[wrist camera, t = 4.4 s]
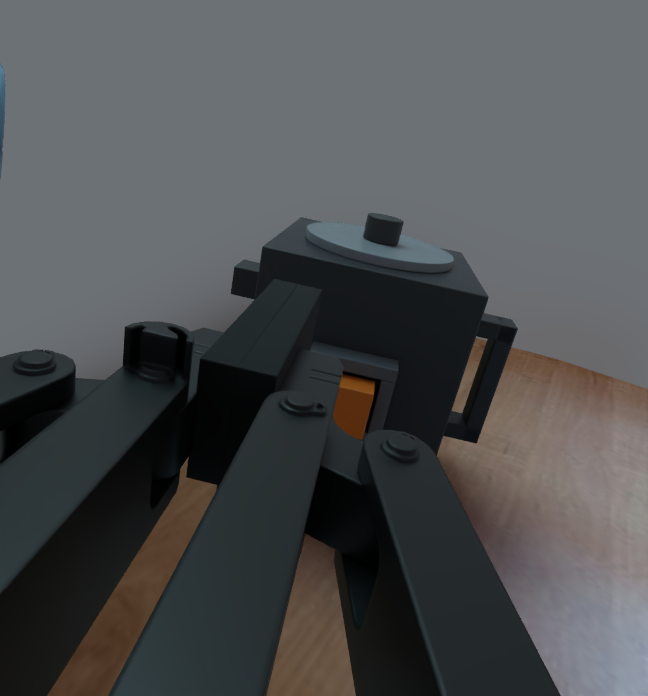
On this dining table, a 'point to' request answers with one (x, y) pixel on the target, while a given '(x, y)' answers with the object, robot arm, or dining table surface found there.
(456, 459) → the dining table surface
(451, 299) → the kettle
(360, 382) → the kettle switch
